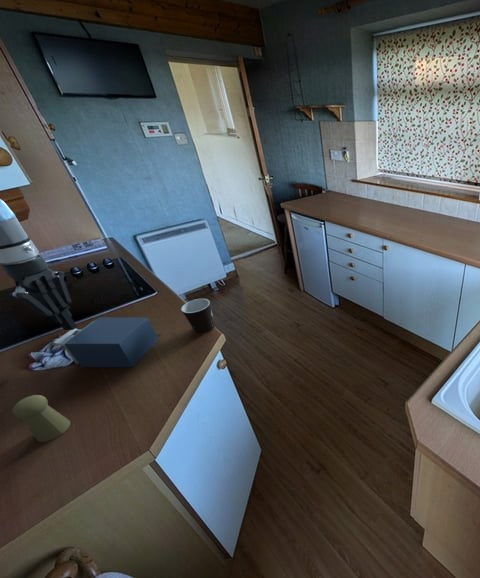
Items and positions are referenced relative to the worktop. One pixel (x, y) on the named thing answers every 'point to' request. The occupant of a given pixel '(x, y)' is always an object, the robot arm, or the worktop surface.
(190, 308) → the coffee mug
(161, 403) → the worktop surface
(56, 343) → the drawer
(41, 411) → the cork
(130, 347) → the block
